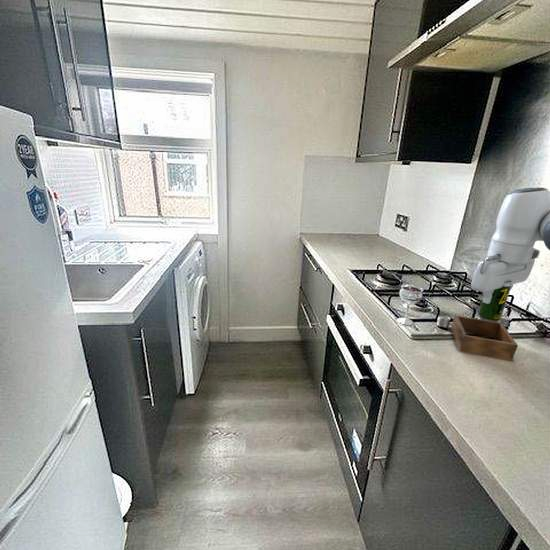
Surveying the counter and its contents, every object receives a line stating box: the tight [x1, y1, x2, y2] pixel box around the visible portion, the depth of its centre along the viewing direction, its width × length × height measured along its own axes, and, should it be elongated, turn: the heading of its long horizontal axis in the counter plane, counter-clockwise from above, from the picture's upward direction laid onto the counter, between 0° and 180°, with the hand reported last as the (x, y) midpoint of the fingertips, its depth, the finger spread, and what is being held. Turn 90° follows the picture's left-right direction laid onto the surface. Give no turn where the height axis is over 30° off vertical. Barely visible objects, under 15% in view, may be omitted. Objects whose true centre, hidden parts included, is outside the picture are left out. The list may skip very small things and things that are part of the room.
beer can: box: [477, 281, 512, 323], centre depth 83 cm, size 5×5×12 cm
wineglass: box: [396, 283, 424, 326], centre depth 97 cm, size 7×7×12 cm
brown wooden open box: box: [450, 314, 518, 362], centre depth 88 cm, size 13×13×5 cm
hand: (494, 300), depth 83 cm, fingers closed on beer can, 5 cm apart
